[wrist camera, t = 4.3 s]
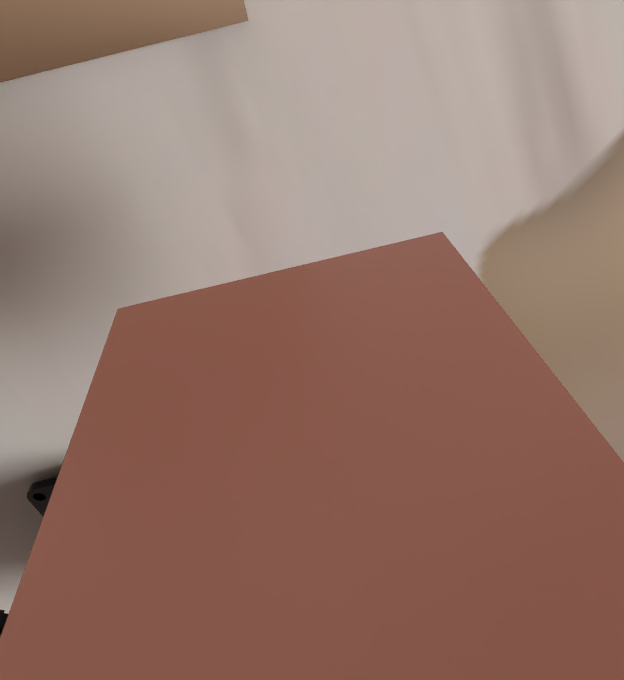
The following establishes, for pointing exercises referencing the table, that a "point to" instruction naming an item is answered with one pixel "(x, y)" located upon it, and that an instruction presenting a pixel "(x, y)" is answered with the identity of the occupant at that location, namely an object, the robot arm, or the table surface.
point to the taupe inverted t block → (98, 28)
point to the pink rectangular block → (327, 492)
